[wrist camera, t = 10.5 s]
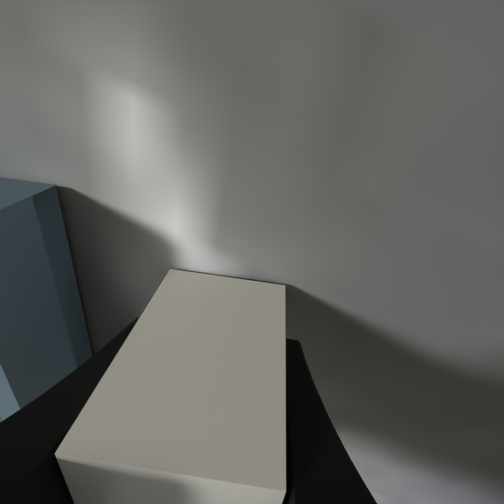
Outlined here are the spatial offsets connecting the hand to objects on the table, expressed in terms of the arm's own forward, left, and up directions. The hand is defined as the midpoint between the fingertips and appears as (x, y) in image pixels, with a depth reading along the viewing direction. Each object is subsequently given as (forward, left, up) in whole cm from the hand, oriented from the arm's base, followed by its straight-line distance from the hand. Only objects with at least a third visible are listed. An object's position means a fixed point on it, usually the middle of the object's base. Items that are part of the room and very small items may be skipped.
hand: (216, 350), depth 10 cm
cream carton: (0, 0, -1) cm, 1 cm away
